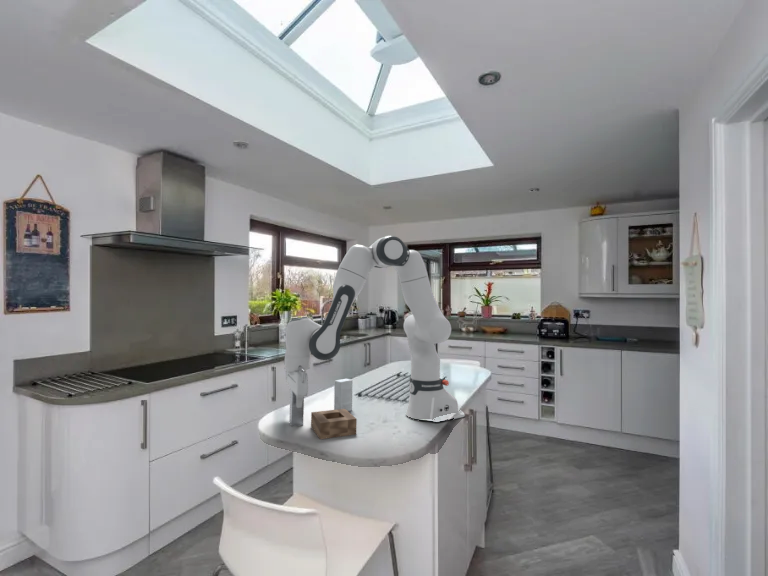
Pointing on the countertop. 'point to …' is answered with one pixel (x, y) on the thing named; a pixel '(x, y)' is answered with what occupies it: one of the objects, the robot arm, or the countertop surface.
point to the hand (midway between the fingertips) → (295, 403)
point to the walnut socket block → (333, 423)
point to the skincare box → (343, 394)
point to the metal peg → (295, 411)
